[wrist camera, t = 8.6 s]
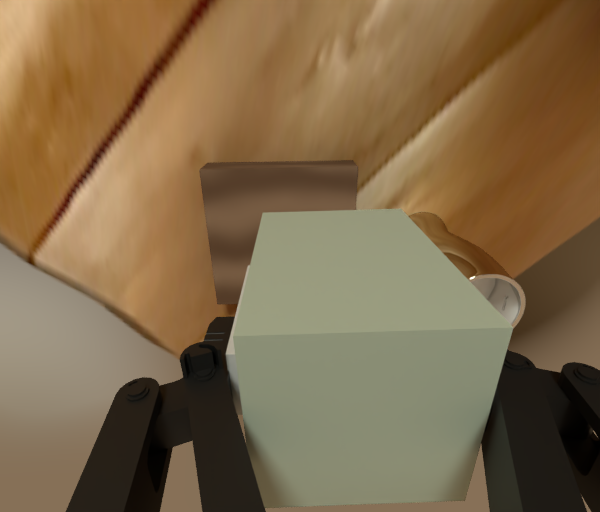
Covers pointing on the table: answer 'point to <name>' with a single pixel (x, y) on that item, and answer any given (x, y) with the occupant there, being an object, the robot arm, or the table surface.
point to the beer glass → (476, 267)
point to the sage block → (362, 362)
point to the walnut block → (264, 207)
